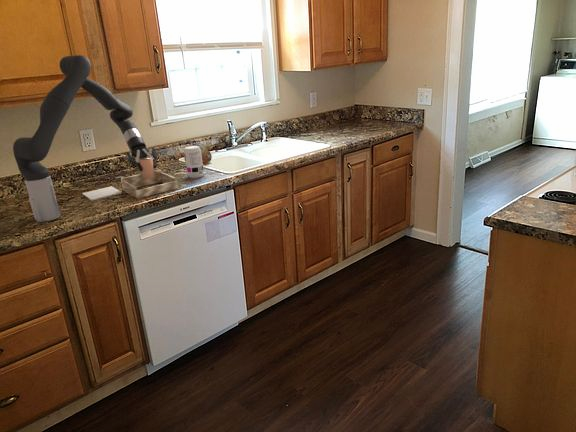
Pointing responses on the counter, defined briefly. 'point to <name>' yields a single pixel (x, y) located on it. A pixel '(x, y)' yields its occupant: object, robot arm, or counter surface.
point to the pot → (147, 167)
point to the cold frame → (136, 181)
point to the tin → (205, 156)
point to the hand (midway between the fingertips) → (148, 168)
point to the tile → (101, 193)
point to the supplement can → (194, 161)
